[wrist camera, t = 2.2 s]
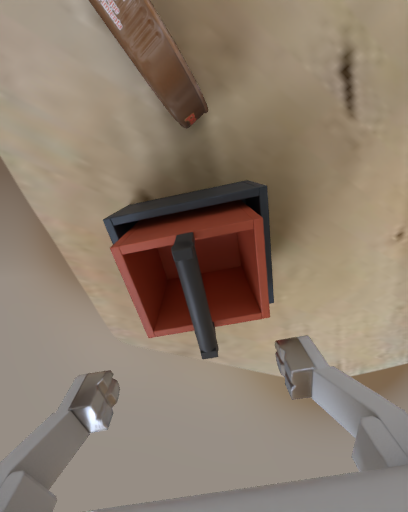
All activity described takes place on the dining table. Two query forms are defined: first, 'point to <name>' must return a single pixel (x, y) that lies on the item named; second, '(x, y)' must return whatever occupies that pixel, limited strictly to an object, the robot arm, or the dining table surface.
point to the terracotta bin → (196, 271)
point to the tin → (154, 56)
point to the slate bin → (243, 191)
